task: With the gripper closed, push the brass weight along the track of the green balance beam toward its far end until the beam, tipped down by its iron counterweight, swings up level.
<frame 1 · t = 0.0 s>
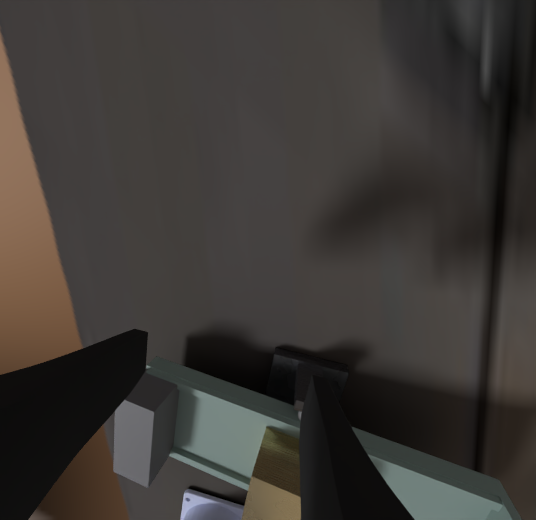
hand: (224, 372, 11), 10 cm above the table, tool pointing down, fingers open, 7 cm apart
pivot stand: (295, 412, 23), on the table
beam: (290, 476, 18), point 5 cm above the table, hinge at -6.2°, touching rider
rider: (299, 467, 18), point 5 cm above the table, tilted 6°, touching beam
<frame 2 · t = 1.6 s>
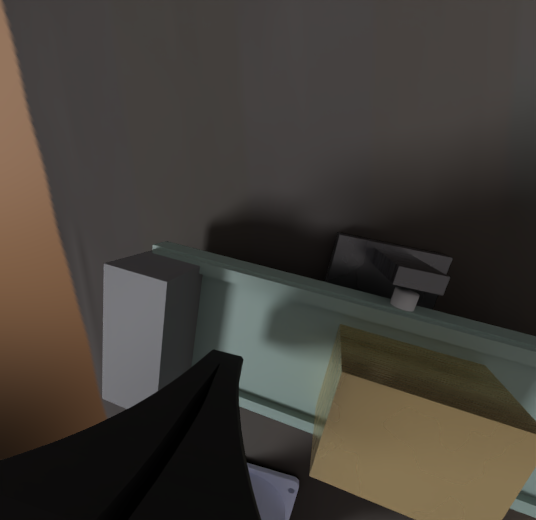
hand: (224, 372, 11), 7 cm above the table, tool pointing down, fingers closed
pivot stand: (360, 333, 16), on the table
beam: (382, 397, 11), point 5 cm above the table, hinge at -6.2°, touching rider
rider: (391, 388, 12), point 5 cm above the table, tilted 6°, touching beam
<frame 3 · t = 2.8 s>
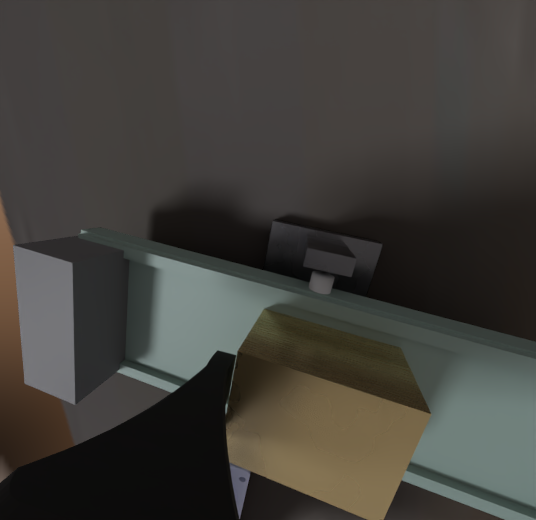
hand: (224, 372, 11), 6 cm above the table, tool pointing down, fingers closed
pivot stand: (302, 321, 16), on the table
beam: (296, 380, 11), point 5 cm above the table, hinge at -5.5°, touching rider
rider: (316, 372, 12), point 5 cm above the table, tilted 6°, touching beam, gripper
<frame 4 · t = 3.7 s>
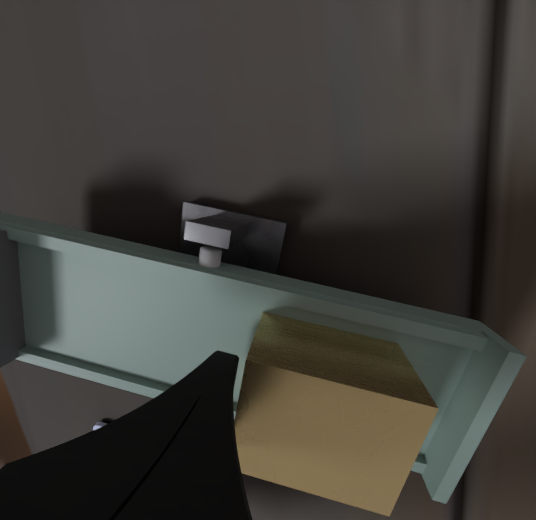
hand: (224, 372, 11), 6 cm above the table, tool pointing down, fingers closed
pivot stand: (224, 302, 17), on the table
beam: (187, 351, 12), point 5 cm above the table, hinge at 0.3°
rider: (316, 372, 12), point 5 cm above the table, touching gripper
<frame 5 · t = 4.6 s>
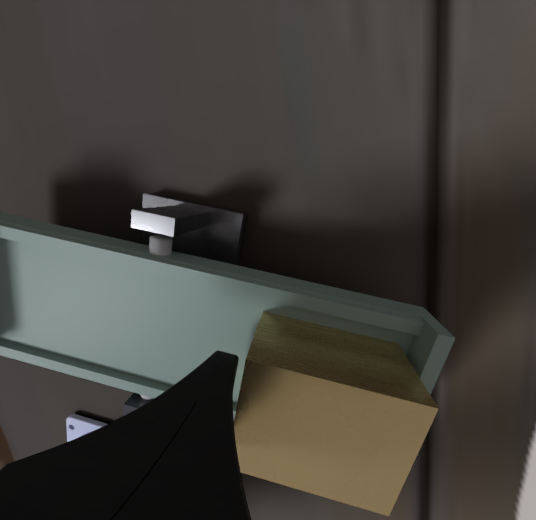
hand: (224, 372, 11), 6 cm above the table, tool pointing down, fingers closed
pivot stand: (189, 293, 17), on the table
beam: (136, 337, 12), point 5 cm above the table, hinge at 0.2°, touching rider
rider: (316, 371, 12), point 5 cm above the table, touching beam, gripper
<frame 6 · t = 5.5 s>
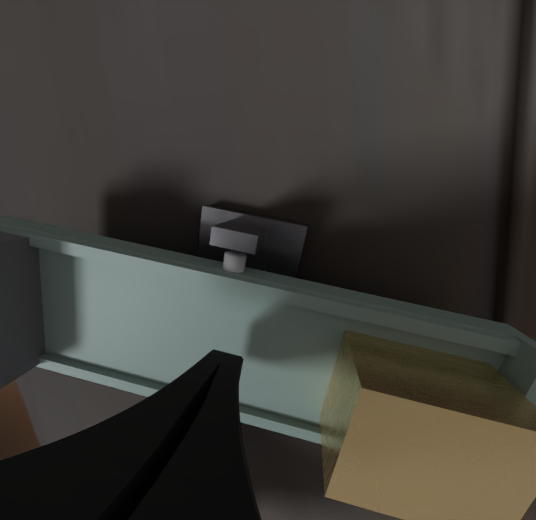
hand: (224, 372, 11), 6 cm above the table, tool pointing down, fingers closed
pivot stand: (242, 305, 17), on the table
beam: (212, 357, 11), point 5 cm above the table, hinge at 0.2°, touching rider
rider: (397, 391, 12), point 5 cm above the table, touching beam
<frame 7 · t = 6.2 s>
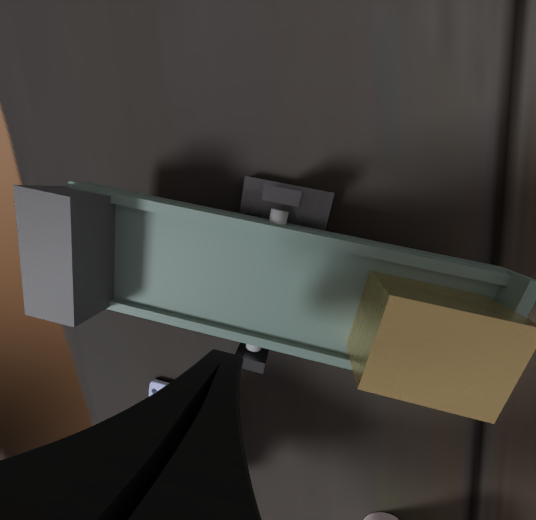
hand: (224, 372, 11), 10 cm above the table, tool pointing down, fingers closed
pivot stand: (273, 265, 19), on the table
beam: (261, 293, 14), point 5 cm above the table, hinge at 0.2°, touching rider
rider: (411, 321, 14), point 5 cm above the table, touching beam
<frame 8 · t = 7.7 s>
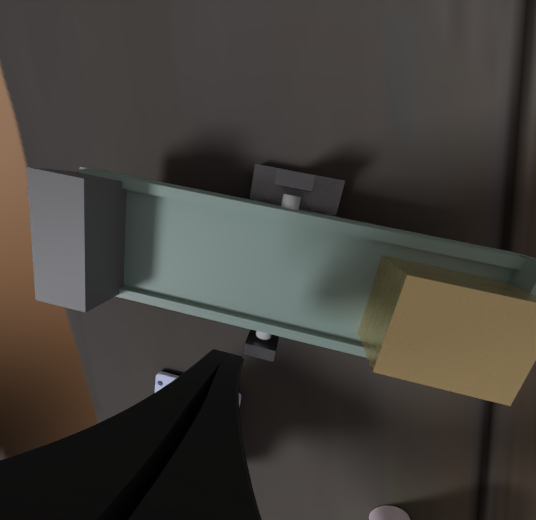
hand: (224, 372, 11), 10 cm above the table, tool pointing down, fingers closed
pivot stand: (282, 255, 19), on the table
beam: (273, 278, 14), point 5 cm above the table, hinge at 0.2°, touching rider
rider: (423, 307, 14), point 5 cm above the table, touching beam
smoothie: (388, 517, 24), on the table
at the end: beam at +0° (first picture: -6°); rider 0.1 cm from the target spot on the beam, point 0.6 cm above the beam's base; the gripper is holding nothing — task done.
